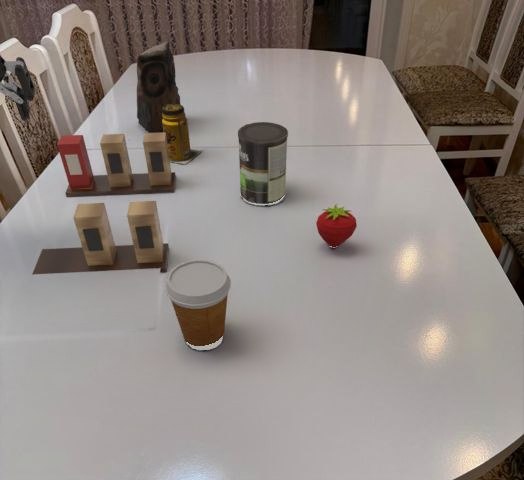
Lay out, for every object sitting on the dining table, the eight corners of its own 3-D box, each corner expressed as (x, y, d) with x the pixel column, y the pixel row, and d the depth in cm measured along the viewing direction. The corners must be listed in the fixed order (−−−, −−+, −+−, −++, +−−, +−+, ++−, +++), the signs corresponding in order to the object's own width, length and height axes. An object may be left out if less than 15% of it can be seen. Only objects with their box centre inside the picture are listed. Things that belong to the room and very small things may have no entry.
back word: (66, 197, 111) (51, 148, 103) (73, 180, 117) (59, 132, 109) (174, 192, 112) (167, 144, 105) (175, 176, 118) (169, 129, 110)
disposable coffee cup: (181, 315, 83) (171, 255, 74) (237, 319, 82) (234, 259, 74) (168, 356, 76) (155, 296, 68) (229, 361, 76) (224, 300, 67)
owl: (181, 117, 144) (172, 37, 129) (188, 134, 135) (179, 51, 121) (137, 121, 141) (123, 41, 127) (142, 139, 133) (127, 55, 118)
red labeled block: (70, 189, 111) (56, 144, 104) (74, 179, 115) (61, 135, 108) (90, 188, 112) (78, 143, 105) (94, 178, 115) (82, 134, 108)
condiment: (160, 159, 124) (152, 109, 116) (178, 146, 130) (172, 97, 121) (184, 165, 122) (178, 114, 113) (202, 152, 127) (198, 102, 119)
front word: (33, 278, 90) (11, 225, 82) (43, 253, 96) (24, 201, 88) (166, 272, 91) (157, 219, 84) (169, 247, 97) (160, 195, 89)
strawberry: (353, 258, 94) (360, 210, 87) (313, 256, 95) (317, 208, 88) (352, 240, 98) (359, 194, 91) (314, 238, 99) (318, 192, 92)
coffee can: (244, 209, 107) (242, 144, 97) (236, 186, 114) (233, 124, 104) (291, 204, 108) (293, 139, 98) (280, 182, 116) (281, 119, 106)
